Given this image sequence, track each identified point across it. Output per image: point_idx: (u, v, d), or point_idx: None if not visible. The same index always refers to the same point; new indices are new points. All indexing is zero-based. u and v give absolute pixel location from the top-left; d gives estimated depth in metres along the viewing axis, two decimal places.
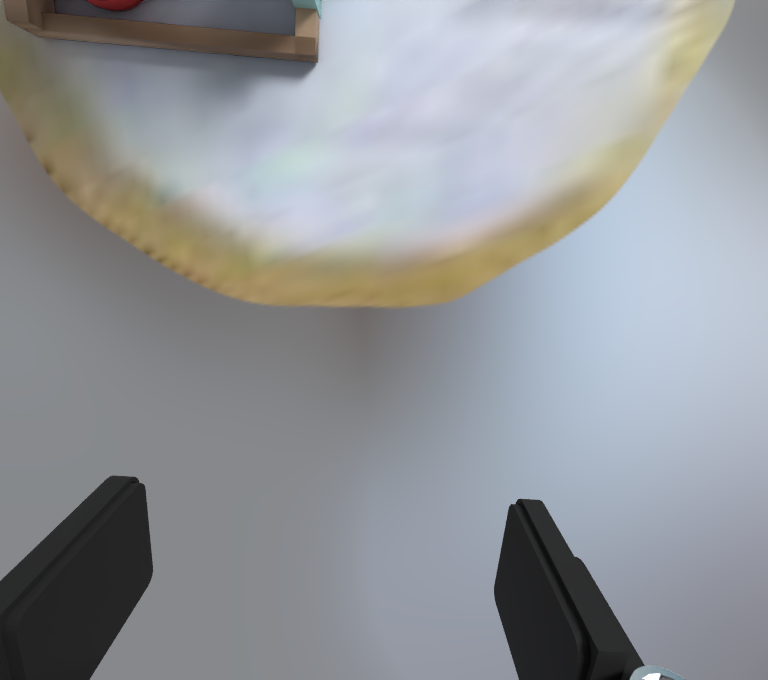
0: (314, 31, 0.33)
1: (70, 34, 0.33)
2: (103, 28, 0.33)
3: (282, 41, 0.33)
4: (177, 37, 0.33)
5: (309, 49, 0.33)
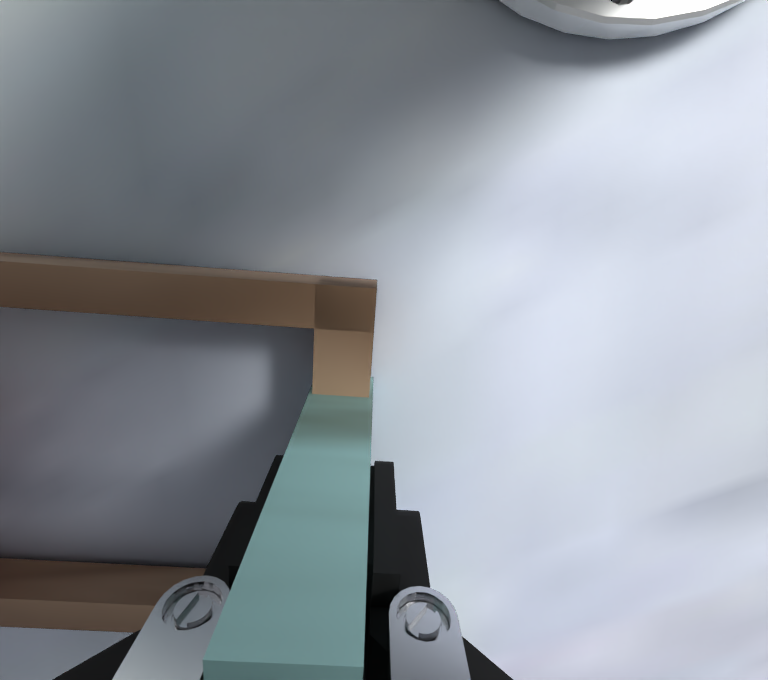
0: None
1: None
2: None
3: None
4: (28, 619, 0.14)
5: None
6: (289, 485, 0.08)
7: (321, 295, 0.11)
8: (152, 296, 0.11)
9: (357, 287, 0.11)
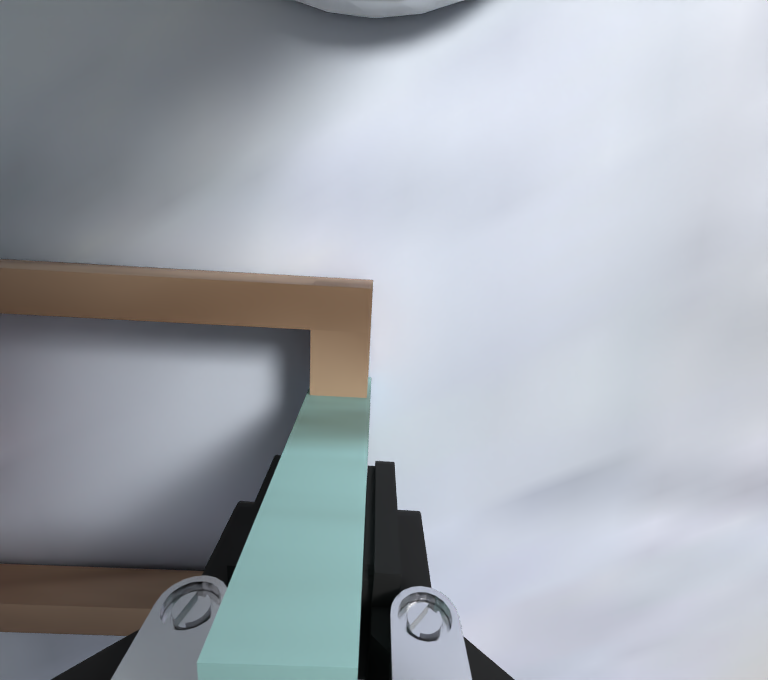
0: None
1: None
2: None
3: None
4: (31, 624, 0.14)
5: None
6: (286, 487, 0.08)
7: (317, 296, 0.11)
8: (148, 300, 0.11)
9: (353, 288, 0.11)
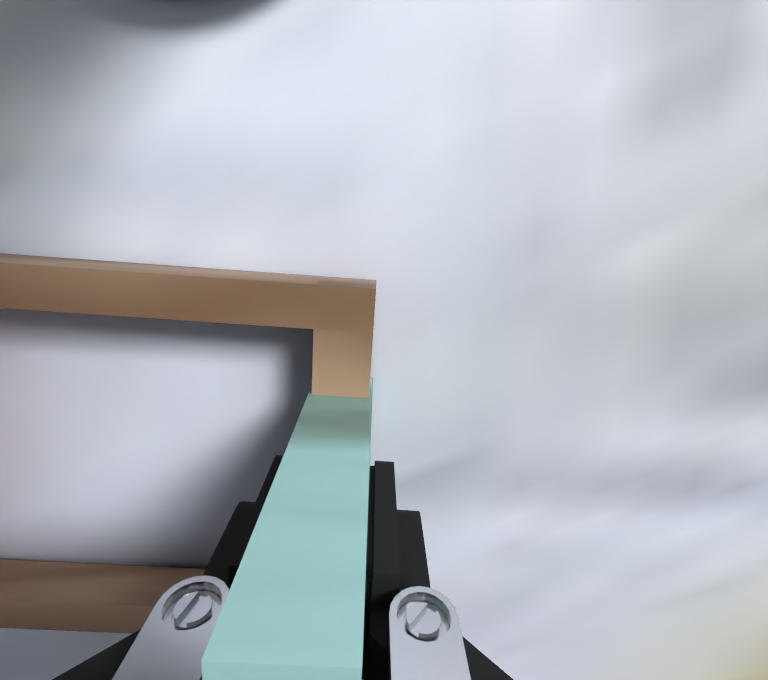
0: None
1: None
2: None
3: None
4: (28, 620, 0.14)
5: None
6: (288, 486, 0.08)
7: (320, 295, 0.11)
8: (151, 297, 0.11)
9: (356, 288, 0.11)
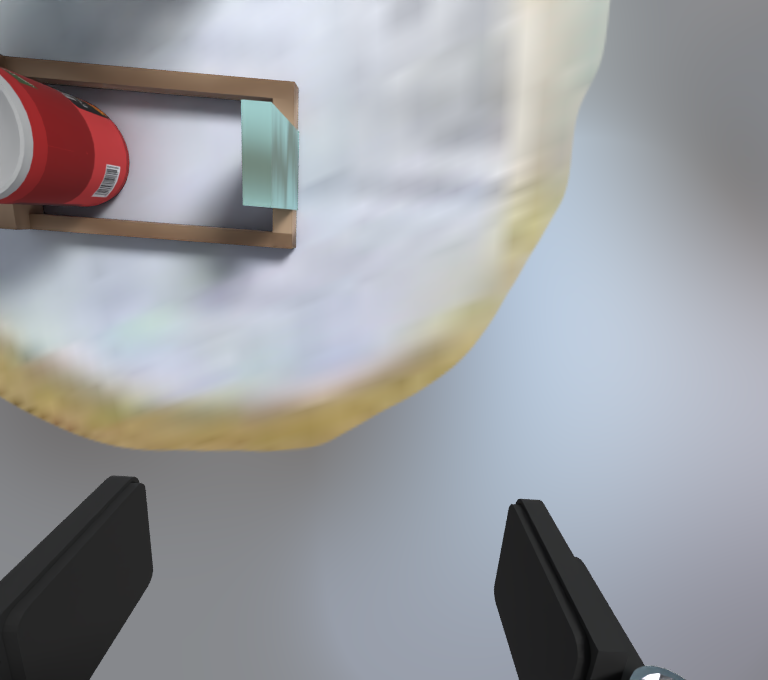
0: (290, 228, 0.34)
1: (57, 230, 0.34)
2: (88, 227, 0.34)
3: (260, 237, 0.34)
4: (159, 234, 0.34)
5: (286, 243, 0.34)
6: None
7: (275, 84, 0.31)
8: (215, 84, 0.31)
9: (287, 81, 0.31)
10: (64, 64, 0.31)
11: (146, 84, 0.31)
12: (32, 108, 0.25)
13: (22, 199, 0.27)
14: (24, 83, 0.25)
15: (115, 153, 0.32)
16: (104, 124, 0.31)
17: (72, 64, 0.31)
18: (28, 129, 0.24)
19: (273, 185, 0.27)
